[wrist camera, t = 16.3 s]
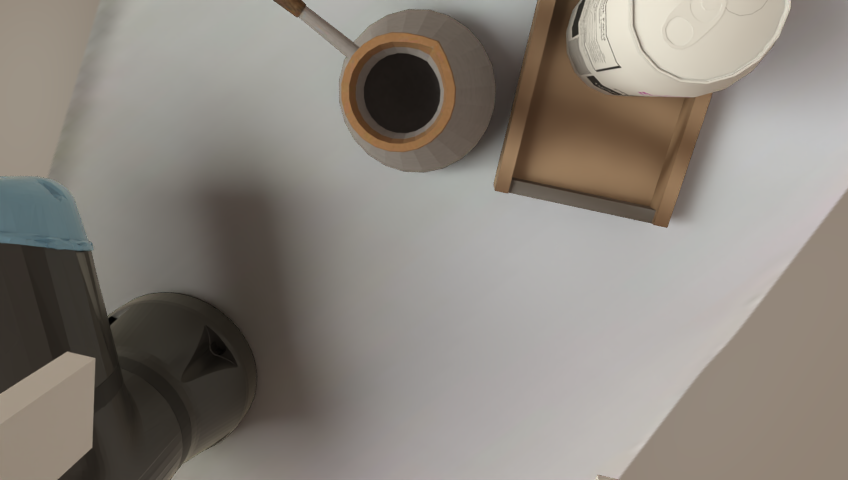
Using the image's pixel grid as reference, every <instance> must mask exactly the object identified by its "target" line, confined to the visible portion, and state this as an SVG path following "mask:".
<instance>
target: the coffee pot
mask: <svg viewBox="0 0 848 480" xmlns="http://www.w3.org/2000/svg"><path fill="white" fill-rule="evenodd" d="M273 1H275V2H276V3H278V4H279V5H280V6H282V7H283V8H285V9H286V10H287V11H289V12H290V13H292V14H293V15H294V16H296V17H299V18H300V19H302V20H303V21H304V22H305V23H306V24H308V25H309V26H310V27H311V28H312V29H314V30H315V31H316V32H317V33H318V34H320V35H321V36H322V37H323V38H324V39H326V40H327V41H328V42H329V43H330V44H332V45H333V46H334V47H335V48H337V49H338V50H339V51H340V52H341V53H343V54H344V55H345V56H346V58H345V60H344V63H343V67H342V71H341V75H340V79H339V102H340V106H341V110H342V114H343V118H344V121H345V123H346V125H347V127H348V129H349V131H350V133H351V134H352V136H353V138H354V140H355V141H356V142H357V143H358V144H359V145H360V146H361V147H362V148H363V149H364V151H365V152H366V153H367V154H368V155H370V156H371V157H373V158H374V159H376V160H378V161H379V162H381V163H382V164H384V165H386V166H389V167H392V168H395V169H398V170H401V171H405V172H428V171H433V170H437V169H442V168H445V167H447V166H449V165H450V164H452V163H454V162H456V161H458V160H460V159H462V158H463V157H464V156H465V155H466V154H467V153H468V152H469V151H471V150H472V149H473V148H474V147H475V146H476V145H477V143H478V142H479V140H480V139H481V137H482V136H483V134H484V133H485V131H486V130H487V128H488V125H489V122H490V119H491V116H492V113H493V110H494V107H495V92H496V84H495V79H494V73H493V68H492V64H491V62H490V60H489V58H488V56H487V53H486V51H485V49H484V47H483V45H482V44H481V43H480V41H479V40H478V39H477V38H476V37H475V36H474V35H473V33H472V32H471V31H470V30H469V29H468V28H467V27H465V26H464V25H462V24H461V23H459V22H458V21H456V20H455V19H453V18H452V17H450V16H447V15H444V14H441V13H438V12H435V11H432V10H414V9H408V10H404V11H400V12H396V13H393V14H389V15H387V16H385V17H383V18H382V19H380V20H378V21H377V22H375V23H373V24H371V25H370V26H369V27H368V28H367V29H366V30H365V31H364V32H363V33H362V34H361V35H360V36H359V37H358V38H357V39H356V40H355V41H354V42H352V41H351V40H350V39H348V38H347V37H346V36H344V35H343V34H342V33H341V32H339V31H338V30H337V29H335V28H334V27H333V26H331V25H330V24H329V23H328V22H326V21H325V20H324V19H322V18H321V17H320V16H318V15H317V14H316V13H315V12H313V11H312V10H311V9H309V8H308V7H307V6H306V4H305V3H304V2H303V1H302V0H273Z"/></svg>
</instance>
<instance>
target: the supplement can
mask: <svg viewBox="0 0 848 480" xmlns="http://www.w3.org/2000/svg"><path fill="white" fill-rule="evenodd" d="M790 8H791V0H580V1H579V2H578V4H577V5H576V6H575V8H574V9H573V11H572V14H571V17H570V21H569V24H568V27H567V30H566V45H567V55H568V57H569V60H570V62H571V65H572V67H573V70H574V72H575V73H576V74H577V75H578V76H579V77H580V78H581V80H582V81H583V82H584V83H585V84H586V85H587V86H588V87H590V88H592V89H595V90H597V91H599V92H601V93H603V94H605V95H616V96H640V97H698V96H701V95H705V94H709V93H712V92H716V91H720V90H724V89H726V88H727V87H729V86H730V85H732V84H733V83H735V82H736V81H738V80H739V79H741V78H742V77H744V76H746V75H747V74H749V73H750V72H752V71H753V69H754V68H755V67H756V66H757V65H758V63H759V62H760V61H761V60H762V59H763V57H764V56H765V55H766V54H767V53H768V51H769V50H770V49H771V48H772V47H773V45H774V43H775V41H776V40H777V38H778V37H779V35H780V33H781V30H782V28H783V25H784V23H785V21H786V18H787V16H788V13H789V11H790Z"/></svg>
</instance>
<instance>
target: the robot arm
mask: <svg viewBox="0 0 848 480" xmlns="http://www.w3.org/2000/svg"><path fill="white" fill-rule="evenodd" d="M91 250H93V245H92V243H91V242H90V241H88V239H87V236H86V233H85V230H84V227H83V224H82V221H81V218H80V215H79V212H78V209H77V206H76V202H75V200H74V198H73V196H72V194H71V193H70V192H69V190H68V189H67V188H66V187H64V186H63V185H62V184H60V183H58V182H57V181H54V180H52V179H49V178H44V177H38V176H0V480H170V479H171V478H172V477H173V475H174V474H175V473H176V471H177V470H178V469H179V468H180V466H181V465H182V464H183V463H185V462H187V461H188V460H190V459H191V458H193V457H195V456H196V455H198V454H199V453H201V452H202V451H204V450H206V449H209V448H210V447H212V446H214V445H216V444H218V443H219V442H221V441H222V440H224V439H225V438H226V437H227V436H228V435H229V434H230V433H231V432H232V431H233V430H234V429H235V428H236V427H237V425H238V424H239V423H240V421H241V420H242V418H243V417H244V416H245V414H246V413H247V411H248V410H249V408H250V406H251V404H252V401H253V399H254V395H255V391H256V383H257V375H256V366H255V362H254V358H253V355H252V352H251V350H250V347H249V345H248V343H247V342H246V340H245V338H244V337H243V335H242V334H241V332H240V331H239V330H238V328H237V327H236V326H235V325H234V324H233V323H232V322H231V321H230V320H229V319H228V318H227V317H226V316H225V315H224V314H222V313H221V312H220V311H219V310H217V309H216V308H214V307H212V306H211V305H209V304H207V303H205V302H203V301H201V300H199V299H196V298H193V297H190V296H187V295H182V294H177V293H153V294H148V295H144V296H141V297H138V298H136V299H134V300H132V301H130V302H128V303H126V304H125V305H123V306H121V307H120V308H118V309H117V310H115V311H113V312H112V313H111V314H109V315H108V316H107V312H106V308H105V305H104V301H103V297H102V293H101V289H100V286H99V282H98V278H97V273H96V269H95V265H94V261H93V256H92V252H91ZM595 480H618V479H614V478H610V477H605V476H601V475H597V477H596V479H595Z"/></svg>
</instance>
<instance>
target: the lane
mask: <svg viewBox="0 0 848 480" xmlns="http://www.w3.org/2000/svg"><path fill="white" fill-rule="evenodd" d="M579 1H580V0H538V1H537V5H536V9H535V13H534V17H533V21H532V26H531V30H530V34H529V38H528V42H527V46H526V51H525V55H524V59H523V63H522V67H521V72H520V76H519V80H518V84H517V88H516V92H515V97H514V101H513V105H512V109H511V113H510V118H509V122H508V126H507V130H506V134H505V138H504V143H503V147H502V151H501V155H500V159H499V164H498V168H497V172H496V176H495V180H494V189H495V191H499V192H503V193H508V192H509V193H513V194H518V195H522V196H527V197H532V198H536V199H541V200H546V201H550V202H555V203H560V204H564V205H569V206H574V207H578V208H583V209H588V210H592V211H597V212H602V213H606V214H611V215H615V216H620V217H625V218H629V219H634V220H639V221H643V222H648V223H652V224H653V225H657V226H662V227H666V228H667V227H668V224H669V221H670V218H671V215H672V212H673V209H674V206H675V203H676V200H677V197H678V194H679V191H680V188H681V185H682V182H683V179H684V176H685V174H686V171H687V168H688V165H689V162H690V159H691V156H692V153H693V150H694V147H695V144H696V141H697V138H698V135H699V132H700V129H701V126H702V123H703V120H704V117H705V114H706V111H707V108H708V105H709V102H710V99H711V96H712V93H713V92H712V93H709V94H705V95H701V96H698V97H640V96H616V95H605V94H603V93H601V92H599V91H597V90H595V89H592V88H590V87H588V86H587V85H586V84H585V83H584V82H583V81H582V80H581V78H580V77H579V76H578V75H577V74H576V73H575V72H574V70H573V67H572V65H571V62H570V60H569V57H568V55H567V45H566V30H567V27H568V24H569V21H570V17H571V14H572V11H573V9H574V8H575V6H576V5H577V4H578V2H579Z"/></svg>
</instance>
